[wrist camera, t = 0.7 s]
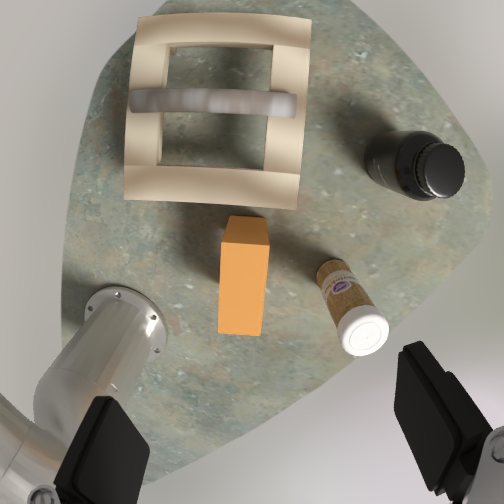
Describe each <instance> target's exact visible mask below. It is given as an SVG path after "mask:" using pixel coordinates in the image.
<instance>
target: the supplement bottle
mask: <svg viewBox="0 0 504 504" xmlns="http://www.w3.org/2000/svg"><path fill="white" fill-rule="evenodd" d="M365 163H366V167H367V170H368V172H369V174H370V176H371V177H372V179H373V180H374V181H375V182H377V183H378V184H379V185H381V186H383V187H385V188H388V189H390V190H393V191H395V192H397V193H400V194H402V195H405V196H407V197H409V198H412V199H414V200H418V201H429V200H432V199H435V198H436V197H438V198H449V197H450V196H453V195H454V194H456V193H457V191H459V189H460V187H461V186H462V183H463V182H464V177H465V175H464V174H465V166H464V161H463V160H462V156H461V155H460V153H459V152H458V151H457V149H455V148H454V147H453V146H450V145H449V144H444V142H443V141H442V140H441V139H440V138H439V137H437V136H436V135H434V134H432V133H430V132H426V131H385V132H381V133H379V134H377V135H376V136H375V137H374V138H373V139H372V140H371V141H370V143H369V144H368V146H367V149H366V153H365Z"/></svg>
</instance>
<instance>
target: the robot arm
mask: <svg viewBox="0 0 504 504" xmlns="http://www.w3.org/2000/svg"><path fill="white" fill-rule="evenodd" d="M84 321H85V323H84V324H83V325H82V326H81V328H80V329H79V330H78V331H77V333H76V334H75V335H74V336H73V338H72V339H71V340H70V341H69V343H68V344H67V345H66V347H65V348H64V349H63V350H62V352H61V353H60V354H59V356H58V357H57V358H56V359H55V361H54V362H53V363H52V365H51V366H50V367H49V369H48V370H47V371H46V373H45V374H44V375H43V377H42V378H41V379H40V381H39V383H38V385H37V387H36V390H35V395H34V402H33V410H34V421H35V424H34V423H33V422H32V421H30V420H29V419H27V418H26V417H25V416H24V415H23V414H22V413H21V412H20V411H19V410H17V409H16V408H15V407H14V406H13V405H12V404H11V403H10V402H9V401H8V400H7V399H6V398H5V397H4V396H3V395H2V394H1V393H0V504H137V500H138V496H139V491H140V488H141V484H142V480H143V477H144V473H145V469H146V465H147V461H148V458H149V454H150V449H149V446H148V444H147V443H146V441H145V440H144V439H143V437H142V436H141V434H140V433H139V432H138V430H137V429H136V427H135V426H134V425H133V423H132V422H131V420H130V419H129V417H128V416H127V414H126V413H125V411H126V408H127V406H128V403H129V401H130V399H131V396H132V394H133V392H134V389H135V387H136V385H137V384H138V383H139V377H140V375H141V373H142V370H143V368H144V366H145V364H147V363H150V362H152V361H154V360H156V359H157V358H158V357H159V356H160V355H161V354H162V352H163V350H164V348H165V346H166V343H167V337H168V335H167V327H166V323H165V321H164V319H163V317H162V314H161V313H160V312H159V310H158V309H157V307H156V306H155V305H154V304H153V303H152V302H151V301H150V300H149V299H147V298H146V297H145V296H143V295H142V294H140V293H138V292H136V291H134V290H131V289H128V288H125V287H119V286H114V287H107V288H103V289H101V290H99V291H97V292H96V293H95V294H94V295H93V296H92V297H91V298H90V299H89V301H88V302H87V304H86V307H85V312H84ZM394 412H395V415H396V418H397V420H398V422H399V424H400V426H401V428H402V431H403V433H404V435H405V437H406V440H407V442H408V444H409V446H410V449H411V450H412V453H413V455H414V458H415V460H416V462H417V465H418V467H419V469H420V472H421V474H422V476H423V479H424V481H425V484H426V486H427V488H428V490H429V491H434V492H435V494H436V496H439V495H441V494H442V493H445V492H446V494H447V496H448V498H449V500H450V501H451V502H450V504H504V426H502V427H499V428H496V429H495V430H493V429H492V428H491V426H490V425H489V423H488V422H487V420H486V419H485V417H484V416H483V414H482V413H481V411H480V410H479V409H478V407H477V406H476V404H475V403H474V401H473V400H472V399H471V397H470V396H469V395H468V393H467V392H466V390H465V389H464V387H463V386H462V385H461V383H460V382H459V381H458V379H457V378H456V377H455V375H454V374H453V373H452V372H449V371H447V372H445V371H444V370H443V368H442V367H441V366H440V364H439V363H438V361H437V360H436V359H435V358H434V356H433V355H432V353H431V352H430V351H429V350H428V348H427V347H426V346H425V345H424V343H423V342H422V341H417V342H415V343H412V344H409V345H406V346H404V347H403V351H401V352H399V355H398V370H397V382H396V391H395V401H394Z"/></svg>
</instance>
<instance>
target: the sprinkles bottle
mask: <svg viewBox="0 0 504 504" xmlns="http://www.w3.org/2000/svg"><path fill="white" fill-rule="evenodd" d="M316 281H317V284H318V286H319V288H320V289H321V291H322V295H323V298H324V300H325V302H326V305H327V307H328V309H329V312H330V314H331V317H332V319H333V321H334V323H335V325H336V327H337V334H338V337H339V340H340V342H341V345H342V347H343V348H344V350H345V351H346V352H348V353H349V354H351V355H355V356H363V355H367V354H370V353H373V352H374V351H376V350H377V349H379V348H380V347H381V346H382V345H383V343H384V342H385V340H386V339H387V336H388V332H389V327H388V323H387V321H386V319H385V317H384V316H383V314H382V313H381V311H380V310H379V309H377V308H376V307H375V306H374V304H373V302H372V301H371V300H370V298H369V296H368V295H367V293H366V292H365V290H364V289H363V287H362V285H361V284H360V282H359V281H358V279H357V278H356V277H355V275H354V274H353V273H352V272H351V270H350V267H349V266H348V265H347V264H346V263H345V262H343V261H341V260H330V261H327V262H325V263H324V264H323V265H321V267H320V268H319V270H318V272H317V275H316Z"/></svg>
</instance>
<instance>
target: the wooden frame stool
mask: <svg viewBox="0 0 504 504" xmlns="http://www.w3.org/2000/svg"><path fill="white" fill-rule="evenodd" d="M311 21H312V20H309V19H302V18H295V17H287V16H278V15H267V14H253V13H226V12H207V13H181V14H167V15H156V16H147V17H139V19H138V25H137V30H136V36H135V42H134V49H133V56H132V64H131V72H130V81H129V90H128V101H127V114H126V129H125V151H124V199H126V200H154V201H176V202H195V203H212V204H227V205H242V206H255V207H268V208H280V209H291V210H296V207H297V198H298V189H299V179H300V169H301V159H302V148H303V137H304V126H305V114H306V101H307V88H308V74H309V58H310V41H311ZM177 47H240V48H257V49H269V50H273V53H272V66H271V78H270V90H269V91H257V90H241V89H219V88H167V89H166V85H167V75H168V66H169V57H170V55H176V49H177ZM164 112H205V113H231V114H248V115H261V116H267V127H266V139H265V151H264V163H263V170H260V169H247V168H232V167H214V166H192V165H161V155H162V136H163V120H164Z"/></svg>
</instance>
